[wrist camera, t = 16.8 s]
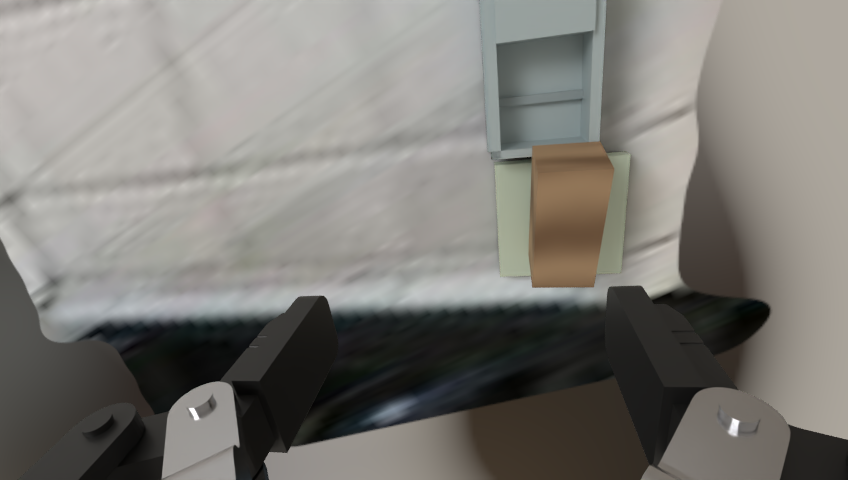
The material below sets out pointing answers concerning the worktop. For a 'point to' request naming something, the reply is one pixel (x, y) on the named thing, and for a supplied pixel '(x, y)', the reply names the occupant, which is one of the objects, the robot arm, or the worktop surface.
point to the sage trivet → (516, 216)
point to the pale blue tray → (541, 73)
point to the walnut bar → (567, 212)
